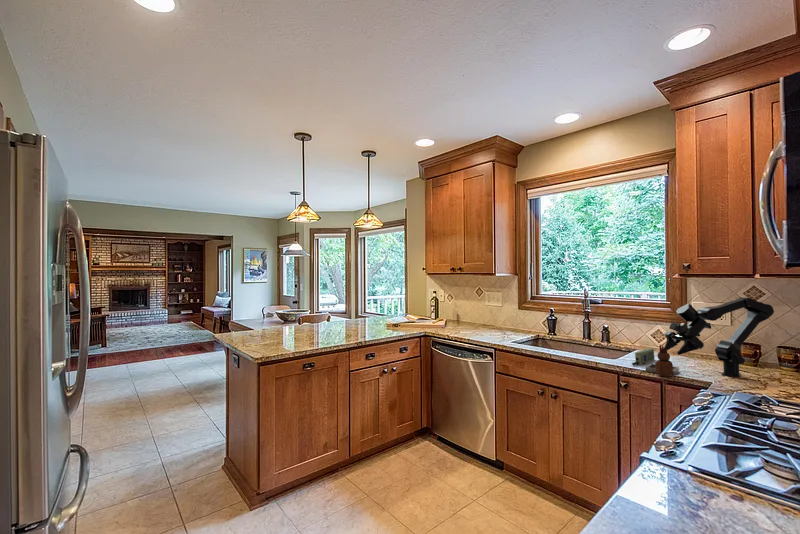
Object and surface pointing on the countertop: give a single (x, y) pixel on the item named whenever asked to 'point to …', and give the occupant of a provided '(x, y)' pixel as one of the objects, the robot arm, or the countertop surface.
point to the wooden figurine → (664, 363)
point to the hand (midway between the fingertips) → (671, 352)
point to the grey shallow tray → (652, 369)
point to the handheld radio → (644, 356)
